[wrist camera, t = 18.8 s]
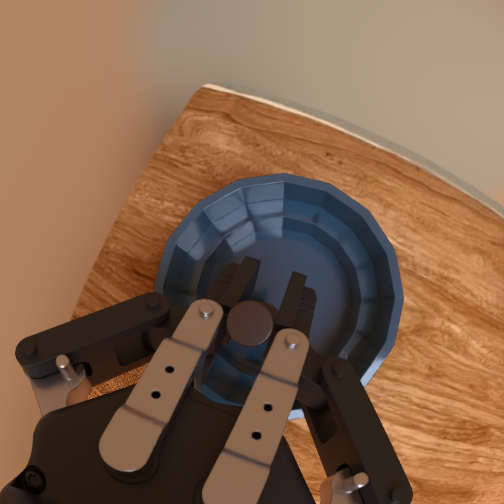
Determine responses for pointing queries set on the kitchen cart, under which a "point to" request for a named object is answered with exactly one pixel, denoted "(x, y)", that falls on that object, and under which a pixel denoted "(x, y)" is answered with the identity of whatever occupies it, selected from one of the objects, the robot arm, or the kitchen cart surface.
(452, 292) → the kitchen cart surface
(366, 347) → the bowl
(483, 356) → the kitchen cart surface
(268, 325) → the brown rubber stamp
